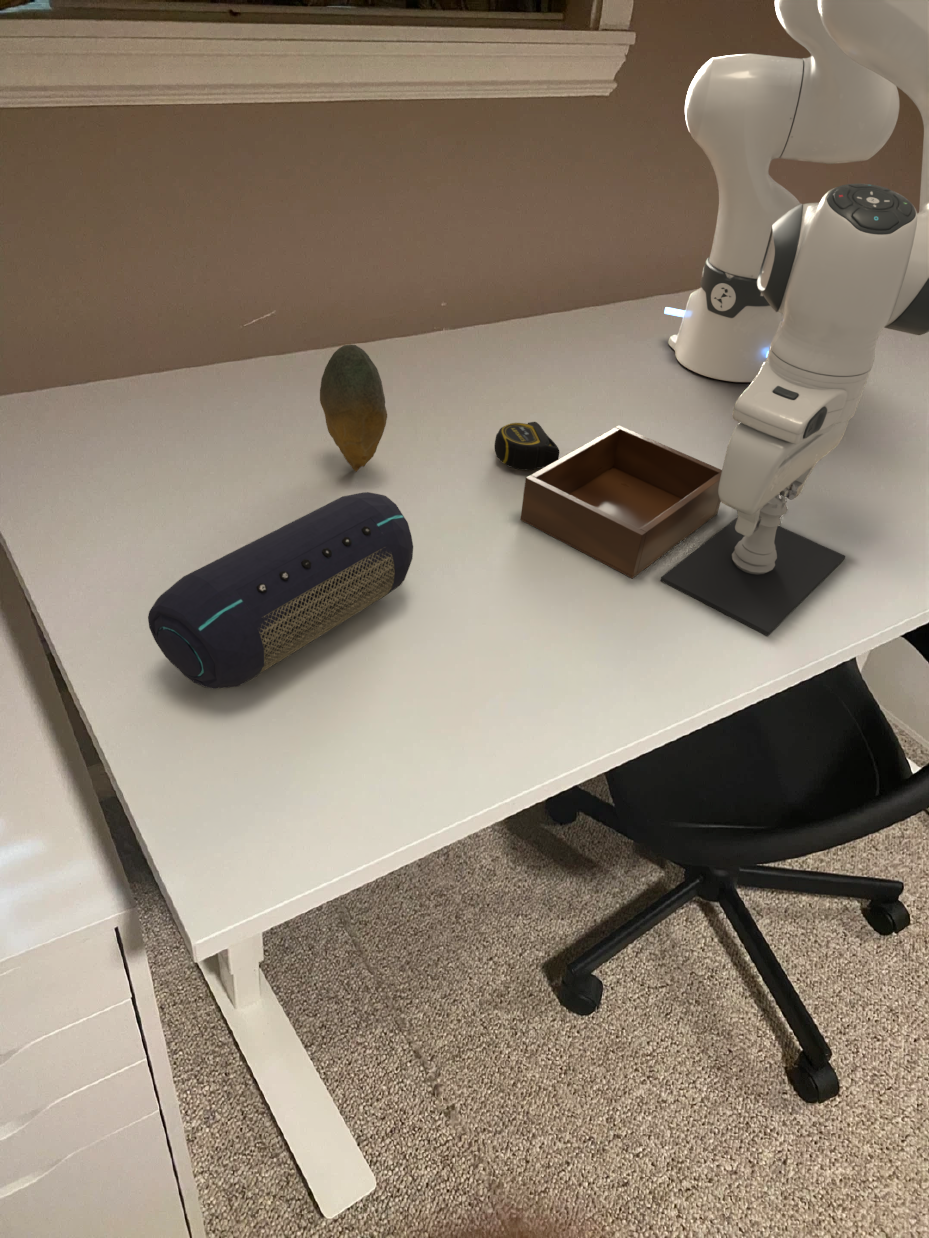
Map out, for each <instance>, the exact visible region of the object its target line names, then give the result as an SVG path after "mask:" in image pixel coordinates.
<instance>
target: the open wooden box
mask: <svg viewBox="0 0 929 1238" xmlns="http://www.w3.org/2000/svg"><path fill="white" fill-rule="evenodd" d="M721 472H722V469H721V468H719V467H716V466H714V465H711V464H709V463H708V462H707V463H706V462H704V461H702V460H700V459H697V458H696V457H694V456H691V455H688V454H686V453H684V452H682V451H680V450H677V449H675V448H672V447H670V446H668V445H665V444H663V443H661V442H659V441H656V440H654V439H651V438H649V437H646V436H645V435H642V434H640V433H637V432H635V431H634V430H631V429H628V428H626V427H624V426H623V425H622V426H621V425H617V426H614V427H613V428H611V429H610V430H607V431H606V432H604V433H602V434H601V435H599V436H597V437H595V438H594V439H592V440H590V441H588V442H587V443H585V444H583V445H581V446H579V447H578V448H576V449H574V450H572V451H571V452H569V453H566V454H565V455H564V456H562V457H559V458H558V460H556V461H555V462H553V463H551V464H549V465H548V466H545V467H541V468H540V469H538V470H536V471H535V472H533V473H532V474H530V475H528V476H526V477H525V480H524V488H523V498H522V505H521V512H520V517H519V518H520V520H521V521H522V522H524V523H526V524H528V525H530V526H531V527H534V528H535V529H537V530H539V531H541V532H542V533H544V534H547V535H549V536H550V537H552V538H554V539H556V540H558V541H560V542H562V543H564V544H566V545H568V546H570V547H571V548H574V549H575V550H577V551H578V552H581V553H583V554H585V555H587V556H588V557H590V558H592V559H594V560H596V561H598V562H600V563H602V564H604V565H606V566H607V567H610V568H611V569H613V570H615V571H617V572H619V573H621V574H623V575H625V576H626V577H629V578H631V579H633V578H635V577H636V576H638V575H639V574H640V573H641V572H643V571H644V570H646V568H648V567H650V566H651V565H652V564H653V563H654V562H656V561H657V560H659V559H660V558H661V557H662V556H664V555H666V553H668V552H669V551H671V550H672V549H673V548H674V547H676V546H677V545H678V544H680V543H681V542H682V541H683V540H685V539H687V538H688V537H689V536H690V535H692V534H693V533H694V532H695V531H697V530H698V529H699V528H701V527H702V526H704V525H705V524H706V523H707V522H708V521H710V520H711V519H712V518H714V517H715V516H716V515H717V514H719V510H720V506H721V504H722V502H721V501H720V498H719V495H718V487H719V482H720V477H721Z"/></svg>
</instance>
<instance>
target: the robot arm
mask: <svg viewBox="0 0 929 1238" xmlns="http://www.w3.org/2000/svg"><path fill="white" fill-rule="evenodd" d="M774 7H775V8H774V9H775V13H776V18H777V19H778V21H779V23H780V25H781V26H782V28H783V30H784V31H785V33H787V34H788V35H789V37H791V39H792V40H794V41H795V42H797V43H798V44H799V45H801V46H802V47H804V49H806V50H807V51H808V52H809V54H810V56H808V57H803V58H798V57H797V58H796V57H786V56H778V55H768V54H767V55H766V54H758V53H749V52H748V53H739V54H730V55H723V56H716V57H711V58H710V59H709V60H707V61H706V62H705V63H704V64H703V65H702V66H701V67H700V69H698V70H697V73H695V75H694V78H693V79H692V81H691V83H690V85H689V87H688V90H687V92H686V93H687V94H686V97H685V103H684V115H685V123H686V126H687V130H688V132H689V133H690V136H691V138H692V139H693V141H694V142H695V143H696V144H697V145H698V147H700V149H701V150H702V151H703V153H704V154H705V156H706V157H707V160H708V161H709V163H710V165H711V167H712V169H713V172H714V175H715V179H716V183H717V189H718V211H717V217H716V223H715V224H716V225H715V229H714V235H713V241H712V245H711V250H710V254H709V256H708V257H707V258H706V260H705V263H704V266H703V267H702V271H701V278H700V281H699V282H700V283H699V286H700V287H699V288H698V289H696V290H694V291H693V292H691V293H690V294H689V297H688V299H687V303H686V305H685V306H686V307H685V309H684V310H683V309H678V308H674V307H668V306H666V307H665V308H664V312H663V313H664V314H665V315H670V316H674V317H680V318H682V319H681V322H680V325H679V329H678V333H677V334H673V335H670V336H669V339H668V341H667V344H668V345H669V346H670V348H672V349H673V350H674V353H675V359H676V360H677V361H678V362H679V364H681V365H682V366H683V367H684V368H687V369H688V370H690V371H692V372H694V373H695V374H698V375H701V376H704V377H708V378H711V379H714V380H720V381H724V382H733V383H750V384H748V385H747V387H746V388H745V390H744V391H743V392H742V393H741V394H740V395H739V396H738V397H737V399H736V401H735V404H734V407H733V411H732V419H733V420H734V421H737V422H738V423H737V424H736V426H735V427H734V429H733V431H732V434H731V435H730V439H729V441H728V444H727V448H726V452H725V455H724V460H723V464H722V467H721V468H722V469H721V470H722V472H721V477H720V482H719V487H718V495H719V498H720V501H721V504H723V505H724V506H727V507H729V508H731V509H733V510H735V511H736V512H737V517H738V518H737V517H736V518H737V522H736V525H735V530H736V531H737V532H738V533H740V534H742V535H744V536H747V537H749V536H751V535H752V534H753V533H754V532H755V531H757V530H758V528H759V524H760V522H761V519H762V517H761V516H759V513H760V509H761V508H763V506H764V505H765V504H767V503H768V502H769V501H770V500H771V499H773V498H774V497H775V496H776V495H778V494H780V495H779V496H784V497H785V498H786V499H787V500H791V501H792V500H794V499H796V498H797V497H798V496H800V494H802V492H803V488H804V486H805V483H806V481H807V480H808V478H809V477H810V476H811V473H812V472H813V470H814V468H815V467H816V465H817V463H818V462H820V461H821V460H822V459H823V458H824V457H826V456H827V455H828V454H829V453H830V452H832V451H833V450H834V449H835V448H836V447H838V445H839V444H840V443H841V441H842V439H843V437H844V435H845V433H846V430H847V428H848V425H849V422H850V420H851V419H852V418H853V417H854V415H856V411H857V409H858V406H859V403H860V400H861V397H862V395H863V392H864V390H865V387H866V384H867V382H868V379H869V376H870V374H871V371H872V369H873V367H874V362H875V359H876V358H875V357H876V356H875V355H876V346H877V342H878V340H879V337H880V334H881V333H882V331H883V330H884V329H888V330H891V331H892V330H893V331H898V332H902V333H906V334H911V335H916V336H923V335H924V334H928V333H929V0H774ZM898 89H900V90H901V91H902V92H903V93H904V94H906V95H907V97H909V99H910V100H911V101H912V102H913V103H914V105H915V106H916V108H917V109H918V111H919V113H920V116H921V120H922V125H923V143H922V158H921V175H920V191H919V192H920V193H919V205H918V206H919V208H918V211H917V209H916V207H915V206H914V204H913V203H912V202H911V201H910V200H909V199H908V198H906V197H905V196H904V195H902V194H900V193H898V192H896V191H894V190H892V189H890V188H887V187H884V186H880V185H876V184H871V183H847V184H842V185H839V186H836V187H834V188H831V189H829V190H828V191H827V192H826V193H825V194H824V195H823V196H822V197H821V199H820V201H819V202H808V203H801V202H800V201H799V199H798V198H797V197H796V196H795V195H794V194H793V193H792V192H790V191H789V190H788V189H786V188H785V187H784V186H783V185H781V184H780V183H778V182H777V181H775V180H774V179H773V178H772V176H771V175H770V172H769V171H770V170H769V169H770V165H771V163H772V161H773V160H778V159H781V160H791V161H798V162H799V161H800V162H809V163H817V164H827V165H833V164H835V165H836V164H845V163H846V164H847V163H857V162H863V161H868V160H870V159H871V158H872V157H874V156H875V155H876V154H877V153H878V152H879V151H880V150H881V149H882V148H883V147H884V146H885V145H886V143H887V142H888V141H889V140H890V137H891V136H892V134H893V132H894V131H895V128H896V125H897V122H898V118H899V113H900V95H899V90H898Z"/></svg>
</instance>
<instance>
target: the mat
mask: <svg viewBox="0 0 929 1238" xmlns="http://www.w3.org/2000/svg"><path fill="white" fill-rule="evenodd" d="M737 518H738V516H737V517H735V518H734V519H733V520H731V521H730V522H729V523H728V524H726V525H725V526H724V527H723V528H721V529H720V530H719V531H718V532H716V533H715V534H714V535H712V536H711V537H710V538H709V539H708V540H706V541H704V543H702V544H701V545H700V546H699V547H697V548H696V549H695V550H694V551H692V552H691V553H689V554H688V555H687V556H686V557H685V558H683V559H681V561H680V562H678V563H677V564H675V565H674V566H673V567H672V568H671V569H669V570H668V571H667V572H665V573H664V574H663V575H662V576H660V579H659V580H660V582H661V583H664V584H666V585H668V586H669V587H672V588H674V589H676V590H677V591H679V592H681V593H684V594H685V595H687V596H689V597H691V598H693V599H695V600H697V601H699V602H700V603H702V604H704V605H706V606H709V607H710V608H712V609H714V610H716V611H718V612H720V613H721V614H724V615H726V616H728V617H730V618H732V619H734V620H736V621H737V622H739V623H742V624H743V625H745V626H747V627H749V628H751V629H753V630H755V631H756V632H759V633H761V634H763V635H764V636H767V637H768V636H769V635H770V634H771V633H772V632H773V631H774V630H775V629H777V627H778V626H779V625H780V624H781V623H782V622H784V620H785V619H786V618H788V616H789V615H791V613H792V612H793V611H794V610H796V608H797V607H798V606H800V604H801V603H803V601H804V600H805V599H807V597H809V596H810V595H811V593H813V592H814V591H815V589H817V587H818V586H820V584H822V583H823V582H824V580H826V579H827V578H828V577H829V576H830V575H831V573H833V571H835V570H836V568H838V567H839V566H840V565H841V564H842V563H843V562H844V561H845V560H846V557H847V556H846V555H844V554H842V553H840V552H839V551H836V550H834V549H831V548H829V547H827V546H824V545H823V544H820V543H818V542H816V541H814V540H811V539H809V538H807V537H805V536H802V535H801V534H798V533H796V532H794V531H791V530H789V529H787V528H784V527H782V526H780V525H779V526H778V527H777V530H776V534H775V540H774V544H775V548H776V549H775V550H776V553H777V559H776V561H775V566H774V568H773V569H772V570H771V571H769V572H767V573H765V574H758V575H757V574H750V573H747V572H744V571H742V570H741V569H739V568H738V567H737V566H736V565H735V563H734V561H733V559H732V553H733V552H734V550H735V546H736V545H737V543H738V542H739V541H741V540H742V539H743V537H745V536H744V535H742V534H740V533H738V532H737V531H736V530H735V525H736V522H737Z"/></svg>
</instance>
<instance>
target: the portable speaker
mask: <svg viewBox="0 0 929 1238" xmlns="http://www.w3.org/2000/svg"><path fill="white" fill-rule="evenodd" d="M413 554H414V543H413V537H412V532H411V529H410V526H409V522H408V521H407V519H406V518H405V516H404V515H403V512H402V511H401V509H400V508H399V507H398V505H397V504H396V503H395V502H394V501H393V500H391V499H390V498H389V497H388V496H387V495H384V494H380V493H375V492H369V491H365V492H359V493H353V494H349V495H344V496H341V497H338V498H336V499H335V500H332V501H331V502H329V503H327V504H324V505H322V506H321V507H318V508H317V509H315V510H312V511H311V512H309V513H307V514H305V515H303V516H301V517H299V518H297V519H295V520H293V521H291V522H288V523H287V524H285V525H283V526H281V527H279V528H277V529H275V530H273V531H271V532H269V533H268V534H265V535H263V536H261V537H259V538H257V539H255V540H253V541H251V542H249V543H247V544H245V545H243V546H242V547H240V548H237V549H235V550H233V551H232V552H229V553H228V554H225V555H224V556H222V557H220V558H217V559H216V560H214V561H212V562H210V563H208V564H205V565H204V566H202V567H199V568H198V569H195V570H194V571H192V572H189V573H188V574H186V575H183V576H182V577H181V578H179V579H178V580H177V581H176V582H175V583H173V585H171V586H170V587H169V588H168V589H166V590H165V591H164V592H163V593H162V594H160V595H159V597H157V599H156V601H155V602H154V603H153V604H152V607H151V608H150V609H149V611H148V615H147V621H148V628H149V630H150V633H151V636H152V638H153V640H154V642H155V644H156V645H157V646H158V648H159V649H160V651H161V652H162V654H163V656H164V657H165V658H166V659H167V660H168V661H169V662H170V663H171V664H172V665H173V666H174V667H175V668H176V669H177V670H178V671H179V672H180V673H181V674H182V675H183V676H185V677H186V678H187V679H188V680H190V681H191V682H193V683H194V684H197V685H199V686H202V687H204V688H207V689H212V690H213V689H225V688H235V687H239V686H241V685H243V684H245V683H246V682H248V681H250V680H252V679H254V678H255V677H257V676H258V675H260V674H262V673H263V672H264V671H266V670H268V669H269V668H271V667H273V666H275V665H276V664H278V663H279V662H281V661H282V660H284V659H286V658H287V657H289V656H290V655H292V654H293V653H295V652H297V651H298V650H300V649H301V648H303V647H305V646H307V645H308V644H310V643H311V642H313V641H314V640H316V639H318V638H319V637H321V636H323V635H324V634H326V633H328V631H330V630H332V629H334V628H336V627H337V626H338V625H340V624H342V623H344V622H345V621H346V620H349V619H350V618H352V617H353V616H355V615H357V614H358V613H359V612H361V611H363V610H364V609H366V608H368V607H369V606H370V605H373V604H374V603H375V602H378V601H379V600H380V599H382V598H385V597H386V596H387V595H389V594H390V593H392V592H393V591H394V590H396V589H397V588H399V587H401V585H402V584H403V583H404V581H405V579H406V577H407V575H408V572H409V569H410V566H411V564H412V561H413V556H414V555H413Z"/></svg>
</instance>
